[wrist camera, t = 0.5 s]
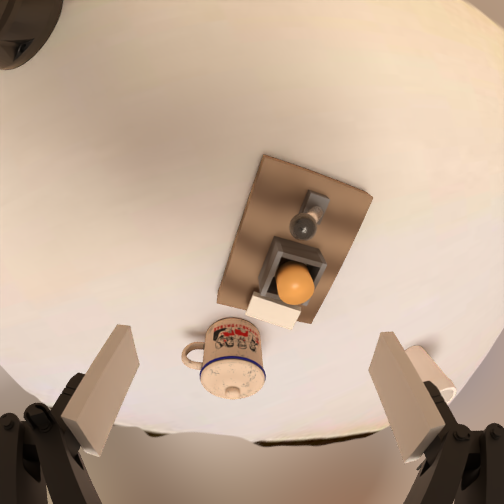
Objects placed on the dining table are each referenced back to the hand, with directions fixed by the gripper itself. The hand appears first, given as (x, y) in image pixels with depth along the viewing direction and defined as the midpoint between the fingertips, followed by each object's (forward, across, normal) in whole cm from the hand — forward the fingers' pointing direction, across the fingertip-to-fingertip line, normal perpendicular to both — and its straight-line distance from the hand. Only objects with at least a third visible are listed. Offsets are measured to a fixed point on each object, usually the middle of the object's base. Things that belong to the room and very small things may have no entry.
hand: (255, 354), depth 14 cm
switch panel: (+25, +4, -3) cm, 25 cm away
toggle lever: (+20, +7, +3) cm, 21 cm away
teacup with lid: (+26, -5, -19) cm, 33 cm away
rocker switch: (+21, +2, -10) cm, 24 cm away
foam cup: (+29, +32, -27) cm, 52 cm away
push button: (+20, +4, -5) cm, 21 cm away
